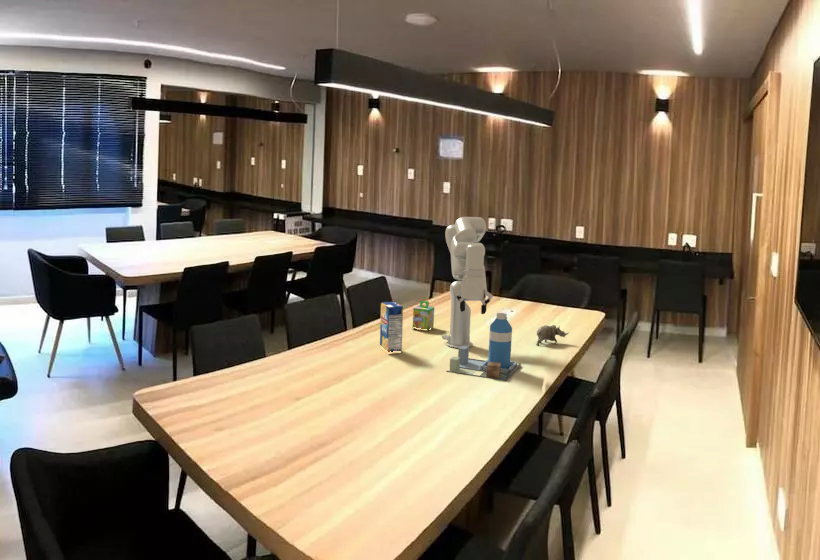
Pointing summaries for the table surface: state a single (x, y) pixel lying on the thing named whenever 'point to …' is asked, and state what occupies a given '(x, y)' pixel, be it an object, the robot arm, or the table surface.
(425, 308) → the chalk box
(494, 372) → the walnut cube
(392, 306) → the beverage box
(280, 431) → the table surface
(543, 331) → the rhinoceros figurine
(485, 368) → the pale blue tray
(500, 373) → the lane rails
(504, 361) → the water bottle
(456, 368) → the strip
